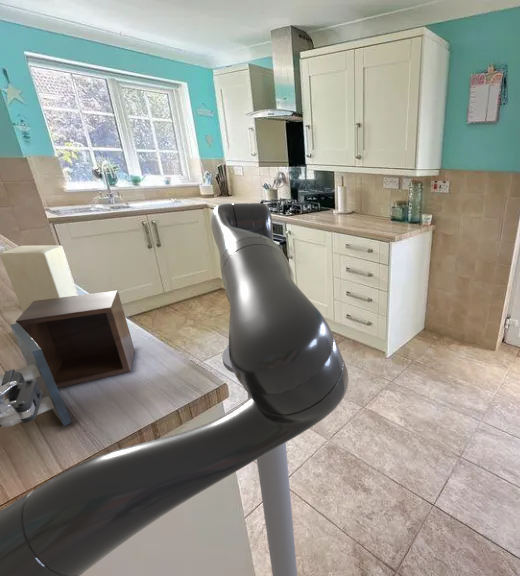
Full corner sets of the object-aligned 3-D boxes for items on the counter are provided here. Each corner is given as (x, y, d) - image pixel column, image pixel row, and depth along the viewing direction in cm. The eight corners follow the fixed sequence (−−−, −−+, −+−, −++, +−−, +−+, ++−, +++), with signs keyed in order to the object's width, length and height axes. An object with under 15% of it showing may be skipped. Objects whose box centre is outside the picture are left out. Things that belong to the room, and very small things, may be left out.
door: (14, 449, 50) (-28, 371, 44) (-6, 412, 56) (-45, 339, 51) (71, 422, 55) (41, 348, 49) (47, 390, 62) (18, 322, 56)
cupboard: (130, 371, 68) (110, 307, 62) (45, 390, 62) (15, 321, 56) (134, 349, 75) (117, 290, 69) (59, 364, 69) (33, 300, 63)
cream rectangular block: (90, 321, 85) (64, 243, 77) (73, 336, 79) (43, 252, 71) (53, 324, 83) (22, 244, 75) (33, 339, 77) (-3, 253, 69)
